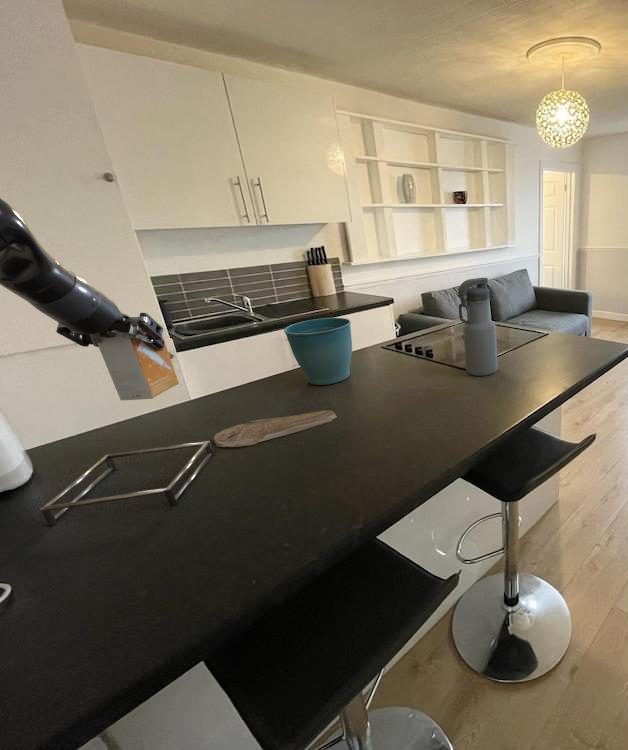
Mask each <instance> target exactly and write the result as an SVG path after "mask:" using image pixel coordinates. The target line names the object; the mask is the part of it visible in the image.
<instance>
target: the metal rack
mask: <svg viewBox="0 0 628 750" xmlns="http://www.w3.org/2000/svg"><path fill="white" fill-rule="evenodd" d="M195 447H199V448H198V449H197V451H196V452H195V453H194V454H193V456H192V457H191V458H190V459H189V460H188V462H187V463H186V464H185V465H184V466H183V467H182V469H181V470H180V471H179V472H177V474H176V475H175V476H174V478H173V479H172V481H170V483H169V484H168V485H167V486H166V487H163V488H156V489H150V490H143V491H137V492H129V493H123V494H116V495H111V496H103V497H98V498H91V499H85V500H84V499H83V500H81V499H82V498H84V496H85V495H86V494H88V493H89V492H90V491H92V489H93V488H94V487H96V486H97V485H98V484H99V483H100V482H101V481H102V480H103V479H104V478H105V477H107V476H108V475H109V474H110V473H111V472H115V471H116V470H118V469H117V466H116V464H115V462H114V460H113V459H115V458H122V457H123V458H124V457H130V456H138V455H145V454H152V453H158V452H166V451H173V450H180V449H188V448H195ZM205 450H206V453H207V454H206V456H205V458H203V460H202V461H201V462H200V463H199V465H198V466H197V467H196V469H195V470H194V471H193V473H192V474H191V475H190V476H189V477H188V479H187V480H186V481H185V482H184V483H183V485H182V486H181V488H179V490H178V491H177V493H175V494H174V492H173V488H175V486H176V484H178V482H179V481H180V480H181V479H182V478H183V476H184V475H185V474H186V472H188V470H189V469H190V468H191V467H192V465H193V464H194V463H195V462H196V460H197V459H198V458H199V457H200V456H201V454H202V453H203V452H204V451H205ZM214 457H215V453H214V450H213V447H212V444H211V441H210V440H205V441H198V442H191V443H183V444H176V445H168V446H161V447H154V448H153V447H152V448H147V449H139V450H131V451H125V452H116V453H107V454H105V455H103V457H102V458H101V459H99V460H98V461H97V462H95V464H93V465H92V466H90V467H89V468H88V469H87V470H86V471H85V472H83V473H82V474H81V475H80V476H79V477H77V478H76V479H75V480H73V482H71V483H70V484H69V485H68V486H66V487H65V488H64V489H63V490H61V491H60V492H59V493H58V494H57V495H56V496H55V497H53V498H52V499H50V500H49V501H48V502H46V504H44V506H42V507H40V508H39V511H40V513H41V514H42V516H43V517H44V520H45V521H46V523H47V525H48V526H49V527H53V526H55V525H57V524H58V520H59V519H60V518H61V517H62V516H63V515H64V514H65V513H67V511H69V510H70V509H71V508H75V507H83V506H89V505H95V504H103V503H108V502H114V501H120V500H128V499H134V498H141V497H147V496H152V495H160V494H165V497H166V500H167V501H168V504H169V506H170V507H175V506H177V505H178V500H179V499H180V497H181V496H182V495H183V493H184V492H185V491H186V489H187V488H188V487H189V486H190V484H191V483H192V482H193V481H194V479H195V478H196V477H197V475H198V474H199V472H200V471H201V470H202V469H203V467H204V466H205V465H206V464H207V462H208V461H209V460H210V458H214ZM104 463H106V465H107V467H108V468H107V469H106V470H105V471H104V472H102V474H101V475H99V476H98V477H97V478H96V479H95V480H94V481H92V482H91V483H90V484H89V485H88V486H86V488H85V489H83V490H82V491H81V492H79V494H78V495H76V497H74V498H73V499H72V500H71V501H70V502H65V503H58V502H59V501H61V499H63V498H64V497H65V496H66V495H67V494H69V493H70V492H71V491H72V490H73V489H74V488H75V487H77V486H78V485H79V484H80V483H82V482H83V481H84V480H85V479H87V477H89V476H90V475H91V474H92V473H94V472H95V471H96V470H97V469H98V468H99V467H101V466H102V465H103V464H104ZM57 503H58V504H57ZM56 510H60V511H58V512H57V513H56V514H55V515H54V513H53V512H52V511H56Z"/></svg>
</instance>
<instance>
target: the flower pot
mask: <svg viewBox="0 0 628 750" xmlns="http://www.w3.org/2000/svg"><path fill="white" fill-rule="evenodd" d="M351 323H352V322H351V320H350V319H349V318H344V317H323V318H315V319H309V320H304V321H300V322H299V321H298V322H295V323H293V324H290V325H288V326H286V327H285V328H284V329H283V332H284V334H285V335H286V338H287V341H288V344H289V346H290V349H291V352H292V354H293V357H294V359H295V361H296V363H297V364H298V366H299V368H300V369H301V370H302V372H303V373H304V374H305V376H306V377H307V378H306V379H307V381H308V383H310V384H311V385H313V386H314V385H315V386H327V385H333V384H337V383H340V382H342V381H344V380H346V379H348V378H349V377H350V375H351V371H350V369H351V361H352V357H353V340H352V329H351Z"/></svg>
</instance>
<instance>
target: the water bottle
mask: <svg viewBox="0 0 628 750" xmlns="http://www.w3.org/2000/svg"><path fill="white" fill-rule="evenodd" d="M488 283H489V278H488V277H477V278H470V279H466V280H464V281H463V282H462V283H461V284H460V285H459V287H458V290H457V297H458V298H459V299H460V303H459V304H458V317H459V320H460V322H461V323H462V322H463V323H464V324H463V326H462V334H463V345H464V359H465V360H464V361H465V370H466V372H467V374H469V375H471V376H474V377H486V376H490V375H493V374H494V373H496V372H497V371H498V368H499V367H498V366H499V365H498V347H497V346H498V344H497V325H496V323H495V322H494V321H493V320H492V319H491V314H490V311H491V310H490V300H491V299H490V298H491V295H490V289H489V288H488ZM463 308H465V309H466V310H465V311H466V317H467V319H464V316H463V310H462V309H463Z"/></svg>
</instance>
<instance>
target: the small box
mask: <svg viewBox="0 0 628 750" xmlns="http://www.w3.org/2000/svg"><path fill="white" fill-rule="evenodd" d="M129 333H130V334H132V333H133V327H132V326H131V328H130V332H129ZM141 335H143V336H146V332H143V331H141ZM101 338H102V343H97V344H98V347H97V348H98V349H99V351H100V354H101V357H102V359H103V361H104V363H105V366H106V368H107V371H108V373H109V376H110V378H111V380H112V383H113V385H114V388H115V390H116V392H117V394H118V395H117V396H118V397H119V400H120V401H137V400H138V401H140V400H152V399H154V398H156V397H157V396H159V395H161V394H163V393H164V392H167V391H168V390H170V389H172V388H174V387H176V386H178V385H179V384H180V382H179V379H178V376H177V373H176V370H175V368H174V365H173V362H172V359H171V355H170V353H169V351H168V348H167V345H166V343H165V344H164V348H163V350H160V351H157V350H156V349H155V348H153V347H152V346H151V345H149V344H148V343H147V342H145V341H142V340H138V339H137V340H131V339H127V338H124V337H121V336H117V337H111V338H106V337H101ZM162 339H163V340H164V341H165V339H164V336H163V335H162Z"/></svg>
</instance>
